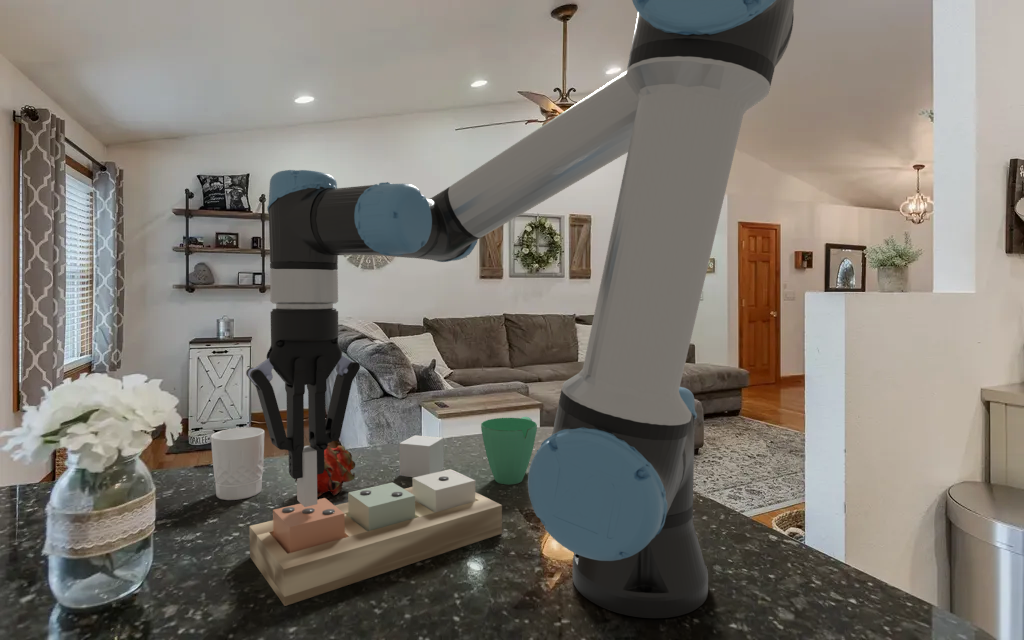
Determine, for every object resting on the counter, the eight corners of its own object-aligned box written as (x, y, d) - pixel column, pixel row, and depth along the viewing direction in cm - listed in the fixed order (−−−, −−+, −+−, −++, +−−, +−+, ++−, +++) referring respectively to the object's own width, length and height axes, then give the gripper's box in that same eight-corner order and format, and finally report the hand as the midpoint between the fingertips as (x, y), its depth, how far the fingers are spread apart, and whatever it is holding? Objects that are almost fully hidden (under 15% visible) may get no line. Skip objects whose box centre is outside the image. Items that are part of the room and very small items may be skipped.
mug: (525, 492, 94) (525, 433, 94) (471, 485, 98) (471, 427, 97) (552, 467, 108) (552, 414, 107) (504, 461, 111) (504, 410, 111)
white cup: (201, 498, 91) (199, 436, 91) (239, 482, 99) (237, 425, 98) (239, 504, 89) (238, 441, 88) (276, 488, 96) (274, 429, 96)
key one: (475, 508, 80) (475, 479, 80) (435, 519, 76) (435, 489, 76) (450, 495, 85) (450, 468, 85) (412, 505, 81) (412, 476, 81)
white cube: (414, 466, 108) (414, 435, 108) (443, 469, 107) (443, 437, 106) (399, 476, 103) (399, 443, 102) (429, 479, 101) (429, 446, 101)
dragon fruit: (355, 490, 100) (307, 526, 89) (320, 458, 101) (269, 490, 90) (375, 456, 96) (328, 489, 86) (338, 424, 98) (288, 453, 87)
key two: (415, 525, 74) (415, 494, 74) (369, 539, 70) (368, 506, 70) (392, 510, 79) (392, 481, 79) (348, 522, 75) (348, 491, 75)
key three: (344, 546, 68) (344, 512, 68) (290, 561, 64) (289, 525, 64) (325, 528, 73) (324, 496, 73) (273, 542, 69) (272, 508, 69)
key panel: (501, 533, 78) (501, 505, 78) (284, 606, 60) (283, 569, 60) (447, 503, 89) (447, 478, 89) (250, 557, 71) (249, 525, 71)
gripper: (345, 304, 74) (347, 482, 76) (237, 306, 66) (241, 505, 67) (370, 306, 68) (371, 499, 70) (254, 308, 60) (258, 526, 62)
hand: (307, 502), depth 69 cm, fingers closed
